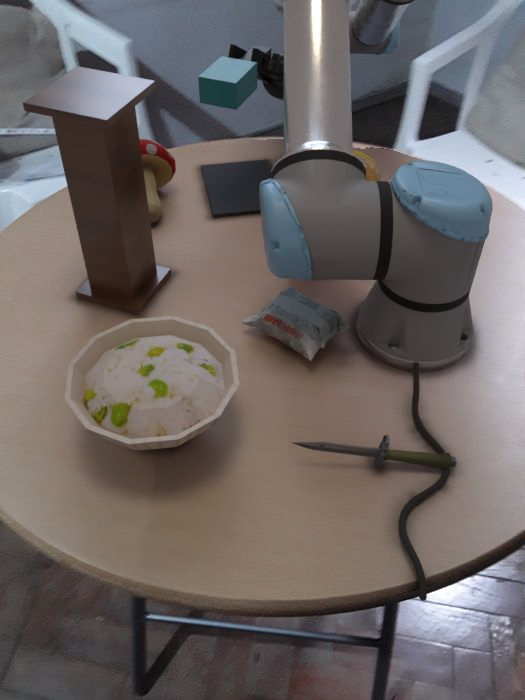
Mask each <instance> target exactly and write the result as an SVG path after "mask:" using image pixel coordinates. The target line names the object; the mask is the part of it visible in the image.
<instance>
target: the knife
mask: <svg viewBox="0 0 525 700" xmlns="http://www.w3.org/2000/svg"><path fill="white" fill-rule="evenodd" d="M390 441H391V437H390V434H386V433H385V434H384V435H383V436H382V440H381V441H380V443H379V445H378V447H367V446H359V445H350V444H344V443H343V444H342V443H335V442H328V441H294V442H291V444H293V445H296V446H298V447H301V448H303V449H308V450H312V451H318V452H326V453H333V454H341V455H349V456H357V457H364V458H373V459H374V460H373V461H374V468H375V469H379V468H380V467H381V466H382V464H383V462H384V461H393V462H399V463H405V464H411V465H417V466H424V467H429V468H433V469H434V468H436V469H439V470H440V471H443V469H447V470H450V471H451V469H454V468H456V467H457V458H456V457H455V456H454V455H451V453H450V452H445V453H441V454H438V453H437V452H426V451H412V450H401V449H390V444H391V442H390Z"/></svg>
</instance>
